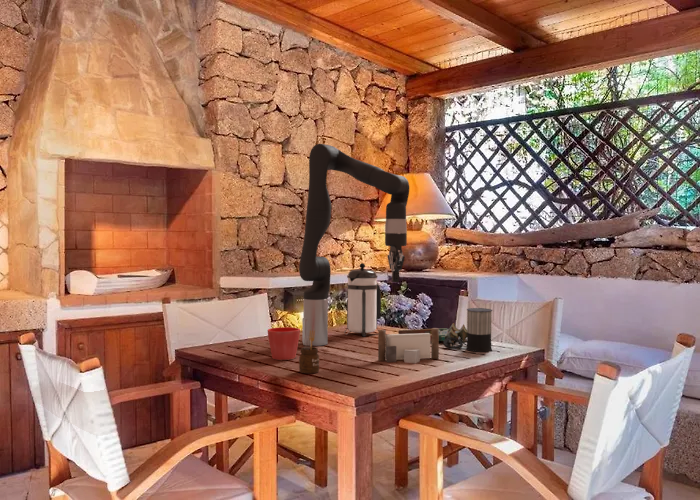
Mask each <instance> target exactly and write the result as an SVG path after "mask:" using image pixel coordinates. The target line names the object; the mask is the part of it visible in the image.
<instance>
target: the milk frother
mask: <svg viewBox="0 0 700 500" xmlns="http://www.w3.org/2000/svg"><path fill="white" fill-rule="evenodd" d="M466 311H467V312H466V313H467V314H466V315H467V317H466V318H467V319H466V320H467V322H466V323H467V324H466V326H467V327H466V329H467V338H466V343H464V342H463V341H462V340H461V339H460V338H459V339H458V338H454V337H449V338H447V339H445V340H444V341H443V346H445V348H448V349H453V350H459V349H461V348H462V347H463V346H464V345H465V346H466V347H465V349H466V350H467V351H469V352H475V353H476V352H480V353H486V352H491V351H493V349H492V315H493V314H492V313H493V309H491V308H484V307H472V308H471V307H470V308H466ZM452 341H454V342H455V343H458V345H454V343H453V342H452Z"/></svg>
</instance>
